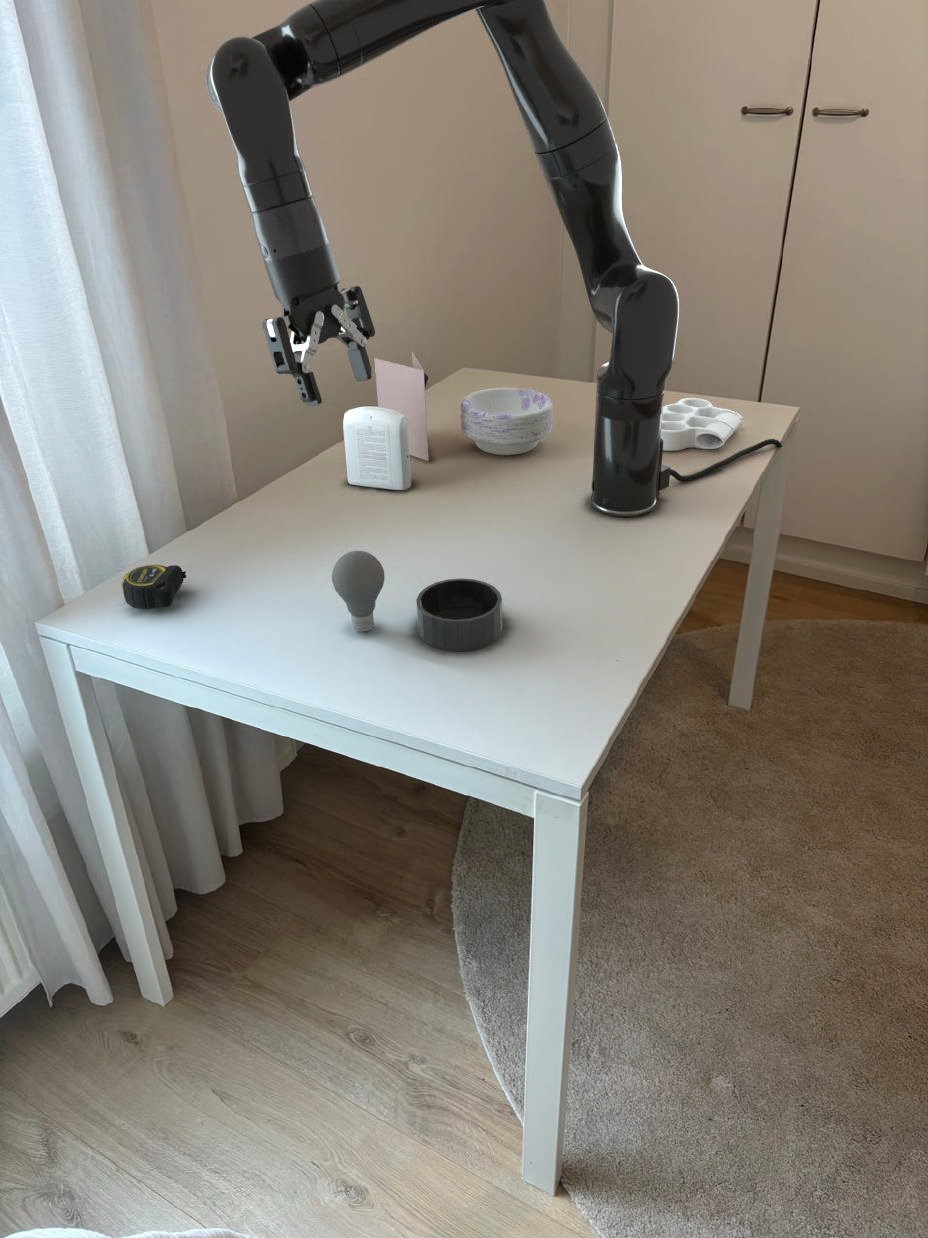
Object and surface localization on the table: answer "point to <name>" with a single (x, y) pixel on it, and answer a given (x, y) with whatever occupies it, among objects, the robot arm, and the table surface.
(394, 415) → the white upright block
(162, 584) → the tape measure
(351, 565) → the light bulb
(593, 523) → the table surface
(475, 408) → the paper bowls
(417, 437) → the greeting card
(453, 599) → the dark gray bowl
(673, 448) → the white multi-hole holder
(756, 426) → the table surface
